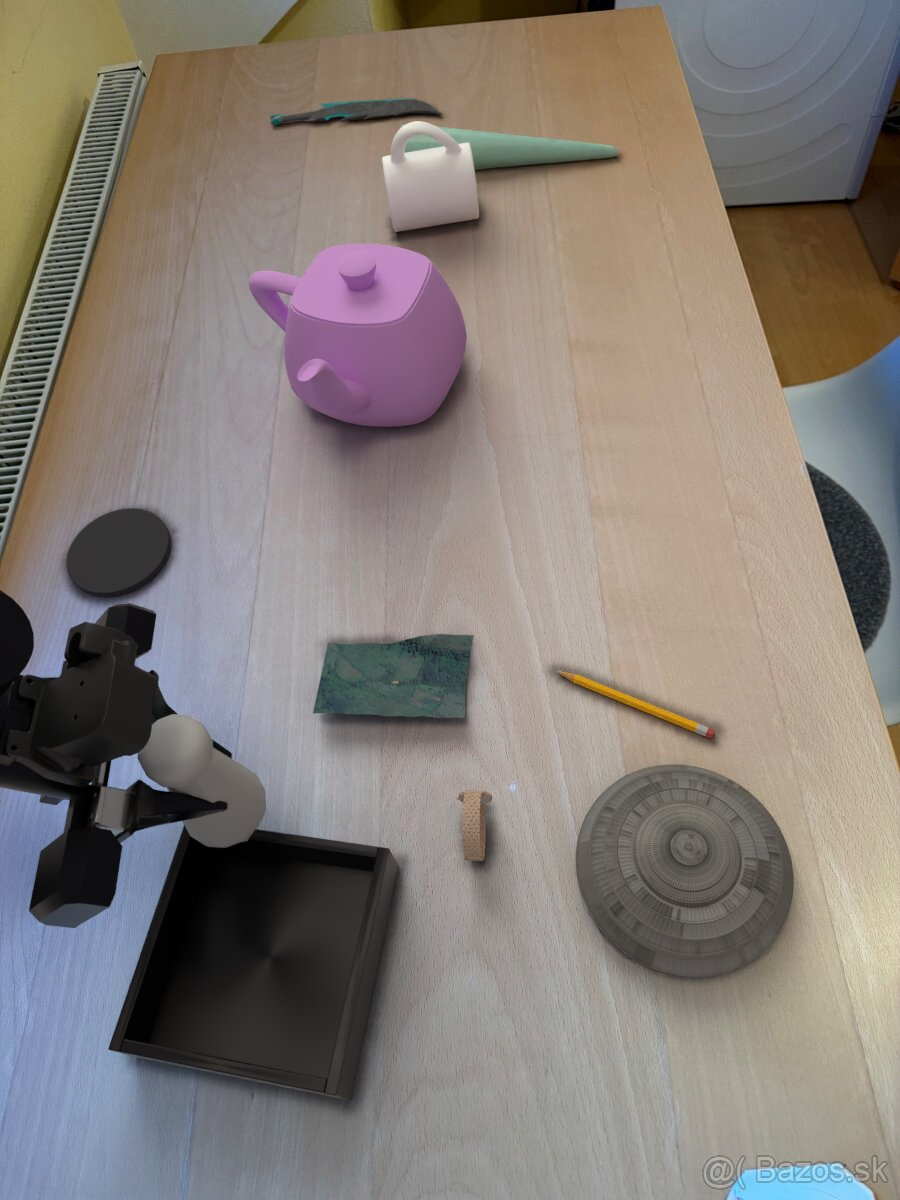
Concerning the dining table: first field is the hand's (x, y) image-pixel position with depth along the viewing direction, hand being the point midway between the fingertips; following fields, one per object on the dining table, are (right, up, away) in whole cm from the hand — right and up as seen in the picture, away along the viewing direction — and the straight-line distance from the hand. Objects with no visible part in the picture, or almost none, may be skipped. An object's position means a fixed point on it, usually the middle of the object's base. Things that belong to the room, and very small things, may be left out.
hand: (227, 783), depth 59 cm
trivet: (-17, +16, +28) cm, 37 cm away
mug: (+13, +58, +52) cm, 79 cm away
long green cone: (+22, +67, +56) cm, 91 cm away
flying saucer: (+31, -8, +7) cm, 33 cm away
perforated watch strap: (+17, -6, +10) cm, 20 cm away
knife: (+2, +79, +67) cm, 103 cm away
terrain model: (+10, +5, +18) cm, 21 cm away
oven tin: (+2, -14, +6) cm, 15 cm away
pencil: (+29, +4, +14) cm, 33 cm away
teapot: (+7, +34, +37) cm, 51 cm away
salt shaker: (-1, -3, +5) cm, 6 cm away
